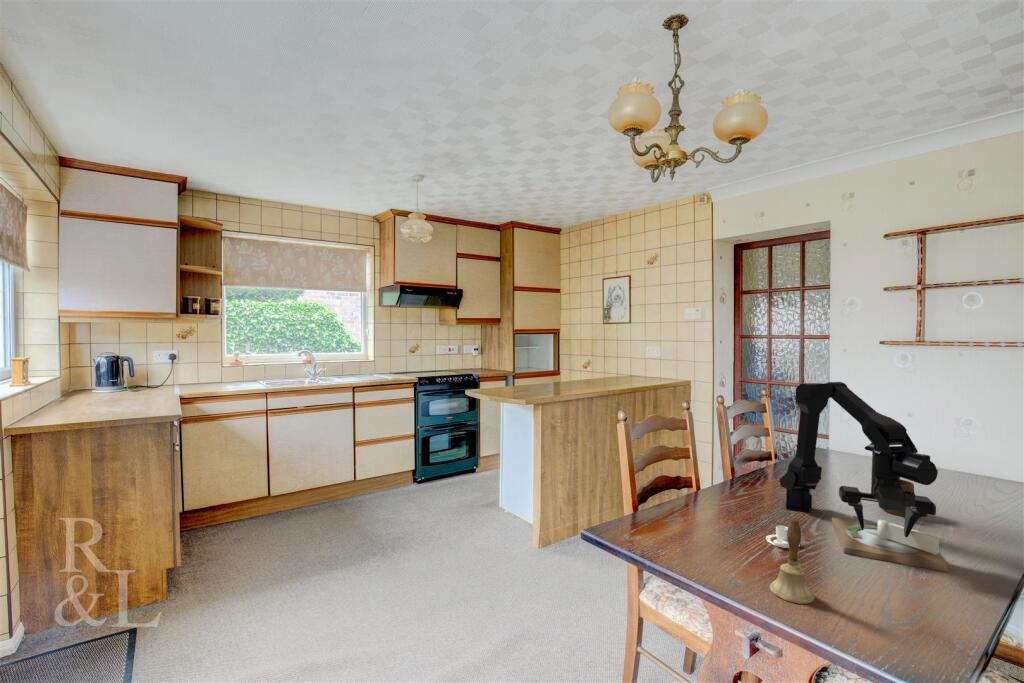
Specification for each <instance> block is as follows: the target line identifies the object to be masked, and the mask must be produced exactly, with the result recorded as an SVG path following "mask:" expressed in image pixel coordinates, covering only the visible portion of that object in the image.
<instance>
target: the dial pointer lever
mask: <svg viewBox="0 0 1024 683" xmlns="http://www.w3.org/2000/svg"><path fill="white" fill-rule="evenodd" d="M852 519H853V520H854V519H855V520H856V521H858V518H857V515H853V516H852ZM863 519H864V522H866V523H870V524H873V525H876V526H877V537H878V538H880V539H884V540H889V539H890V540H893V541H897V542H900V543H903V544H906V545H909V546H912V547H915V548H918V549H921V550H924V551H927V552H930V553H934V554H937V553H938V554H939V552H940V551H939V549H940V548H939V546H940V537H939V536H936V535H932V534H930V533H926V532H922V531H921V530H918V531H917V530H916V529H913V528H912V530H911V532H910V533H909V535H908V537H905V536H904V525H903V526H902V525H900V524H897V523H894V522H890V521H888V520H885V519H877V522H876V521H873V520H869V519H866V518H863Z"/></svg>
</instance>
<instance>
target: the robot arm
mask: <svg viewBox="0 0 1024 683" xmlns="http://www.w3.org/2000/svg"><path fill="white" fill-rule="evenodd" d="M830 398H831V399H832V400H833V401H834V403H837V404H838V405H839V406H840V408H841V409H843V410H845V412H847V414H849V415H850V416H851V417H852V418H853V419H854V420H855V421H857V422H858V423H859V424H860V426H861V430H862V433H863V434H864V435H865V437H866V438H867V439H868V440H869V441H870V444H868V445H866V446H864V450H866V451H869V452H872V455H871V456H872V457H871V480H870V481H871V482H870V484H871V485H870V486H871V487H870V493H869V492H863V491H860V489H859V488H858V487H856V486H855V487H854V486H849V485H848V486H847V485H841V486H839V488H838V496H839V498H840V500H841V502H843V503H845V504H848V506H850V507H853V509H854V511H855V516H857V518H858V520H857V521H859V524H860V527H861V529H862V530H864V519H865V518H864V513H863V512H864V510H863V508H864V505H863V504H862V501H868V502H875V503H878V507H879V508H880V509H881V510H883V509H884V510H895V511H898V512H903V511H904V508H905V507H906V513H905V516H904V525H903V527H904V536H905V537H908V535H909V533H910V532H911V530H912V529H913V528H914V527H915V524H916V523H917V522H918V520H919V519H921V518H927V517H928V515H929V516H936V515H937V506H936V504H935V503H934V502H933V501H932V500H931V499H930V498H929V497H928V496H922V495H917V494H916V493H915V491H914V492H911V491H903V490H902V488H901V480H902V479H903V480H906V481H910V482H913V483H916V484H920V485H923V486H930V485H932V484H933V483H934V482H935V481H936V479H937V477H938V473H939V472H938V471H939V470H938V469H937V466H936V464H935V463H934V462H933V461H931V455H929V454H925V453H924V454H921V453H918V452H919V451H918V449H917V447H916V445H915V444H914V442H913V441H912V438H910V436H909V434H908V432H907V431H908V430H907V428H906V427H905V426H904V425H903V424H902V423H901V422H899V421H897V420H896V419H894V418H892V417H889V416H887V415H885V414H882V413H880V412H878V411H877V410H875V409H874V408H873V407H872V406H870V405H869V404H868V403H867V402H866V401H865V400H863V399H862V398H861V397H860V396H858V395H857V394H856V393H855V392H853V391H852V390H851V389H850V388H849V387H848V385H847V384H846V383H844V382H843V381H828V382H826V383H822V382H815V383H812V382H811V383H810V382H809V383H800V384H799V385H797V386H796V388H795V404H797V407H798V408H799V410H800V414H799V422H798V423H799V424H798V431H797V432H798V433H797V441H796V442H797V443H796V451H795V456H794V457H793V458H792V459H791V461H790V462H789V463H788V467H787V471H786V473H785V474H784V475H782V476H781V477H780V478H779V483H780V484H779V485H780V487H781V488H784V489H785V500H784V506H785V509H786V510H793V511H800V512H805V513H810V512H811V509H812V507H813V495H812V493H811V490H813V491H815V490H816V488H817V486H818V484H819V483H820V481H821V480H822V471H823V468H822V466H819V464H818V463H817V461H816V459H815V458H816V449H817V443H818V442H817V441H818V434H819V424H820V417H821V416H820V415H821V413H822V412H823V410H824V409H825V408H826V407H827V405H828V403H829V399H830ZM901 478H902V479H901ZM900 479H901V480H900ZM884 510H883V511H884Z"/></svg>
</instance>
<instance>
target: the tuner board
mask: <svg viewBox="0 0 1024 683" xmlns="http://www.w3.org/2000/svg"><path fill="white" fill-rule="evenodd" d="M831 525H832V527H833V530H834V532H835V534H836V537H837V539H838V542H839V544H840V547H841V549H842V552H843V554H846V555H853V556H856V557H857V556H858V557H864V558H868V559H869V558H870V559H873V560H878V561H879V560H880V561H885V562H891V563H897V564H901V565H906V566H913V567H919V568H924V569H929V570H934V571H941V572H946V573H948V571H949V566H948V564H947V563H946V562H945V560H944V559H943V557H942V556H941V555H940V554H939V553H937V554H934V553H930V552H927V551H924V550H921V549H918V548H915V547H912V546H909V545H906V544H903V543H900V542H897V541H893V540H890V539H889V540H884V539H880V538H878V537H877V526H876V525H873V524H870V523H867V522H864V530H862V529H861V527H860V524H859V521H858V520H854V519H853V520H851V519H847V518H846V519H845V518H838V517H833V516H832V517H831ZM917 531H919V530H917Z"/></svg>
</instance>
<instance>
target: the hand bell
mask: <svg viewBox="0 0 1024 683" xmlns="http://www.w3.org/2000/svg"><path fill="white" fill-rule="evenodd" d="M787 527H788V530H787V539H788V541H787V542H788V543H789V548H788V549H789V550H788V558H787V563H782V564H781V565H780V568H779V572H778V576H777V578H776V579H775V580H774V581H772V582H771V583H770V585H769V590H770V592H771V593H772V594H773V595H775V596H776V597H778V598H780V599H782V600H784V601H787V602H790V603H794V604H798V605H799V604H800V605H805V604H807V605H808V604H811V603H813V602H814V601H815V595H814V594H813V592H812V591H811V590H810V589H809V587H808V583H807V582H806V575H805V574H806V573H805V570H804V568H802V567H801V566H799V565H798V561H799V560H798V557H799V556H798V551H799V544H800V545H801V540H802V530H801V526H800V523H799V520H798V519H797V518H791V519H790V522H789V525H788V526H787Z"/></svg>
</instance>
